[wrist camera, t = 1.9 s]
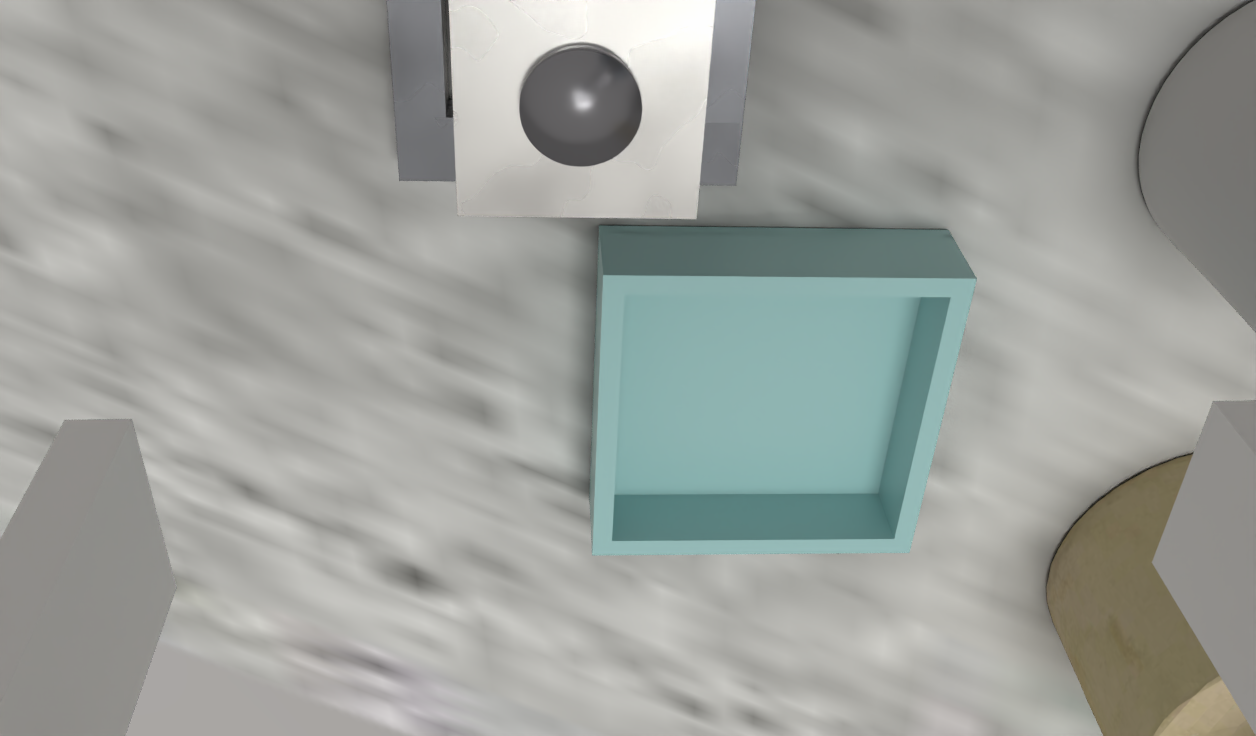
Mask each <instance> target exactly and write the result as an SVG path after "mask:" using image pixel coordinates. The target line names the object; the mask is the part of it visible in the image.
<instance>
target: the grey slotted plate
mask: <svg viewBox="0 0 1256 736" xmlns="http://www.w3.org/2000/svg"><path fill="white" fill-rule="evenodd" d="M755 4H756V0H716V3H715V15H714V26H713V37H712V49H711V60H710V71H709V83H708V94H707V105H706V117H705V128H704V140H703V151H702V162H701V174H700V185H726V186H736V181H737V172H738V163H739V153H740V144H741V135H742V125H743V116H744V107H745V97H746V88H747V79H748V69H749V60H750V51H751V41H752V32H753V23H754V13H755ZM387 12H388V27H389V41H390V55H391V69H392V84H393V98H394V112H395V126H396V141H397V155H398V169H399V181H456V170H455V145H454V120H453V100H449V88H448V64H447V41H446V17H445V0H387Z"/></svg>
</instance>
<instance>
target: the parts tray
mask: <svg viewBox="0 0 1256 736" xmlns="http://www.w3.org/2000/svg"><path fill="white" fill-rule="evenodd" d="M976 280H977V278H976V276H975V275H974V273H973V271H972V270H971V268H970V266H969V264H968V263H967V261H966V259H965V258H964V256H963V254H962V253H961V251H960V249H959V247H958V246H957V244H956V242H955V241H954V239H953V237H952V236H951V234H950V232H949V230H923V229H843V228H763V227H682V226H602V225H599V240H598V268H597V296H596V324H595V352H594V380H593V408H592V436H591V464H590V492H589V500H590V520H591V540H592V555H692V554H811V553H909V552H910V548H911V544H912V540H913V536H914V532H915V528H916V524H917V520H918V516H919V512H920V507H921V503H922V499H923V495H924V491H925V487H926V483H927V479H928V475H929V471H930V467H931V463H932V459H933V455H934V451H935V447H936V443H937V438H938V434H939V430H940V426H941V422H942V418H943V414H944V410H945V406H946V402H947V398H948V394H949V390H950V386H951V382H952V378H953V374H954V369H955V365H956V361H957V357H958V353H959V349H960V345H961V341H962V337H963V333H964V329H965V325H966V321H967V317H968V313H969V309H970V305H971V300H972V296H973V292H974V288H975V284H976Z"/></svg>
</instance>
